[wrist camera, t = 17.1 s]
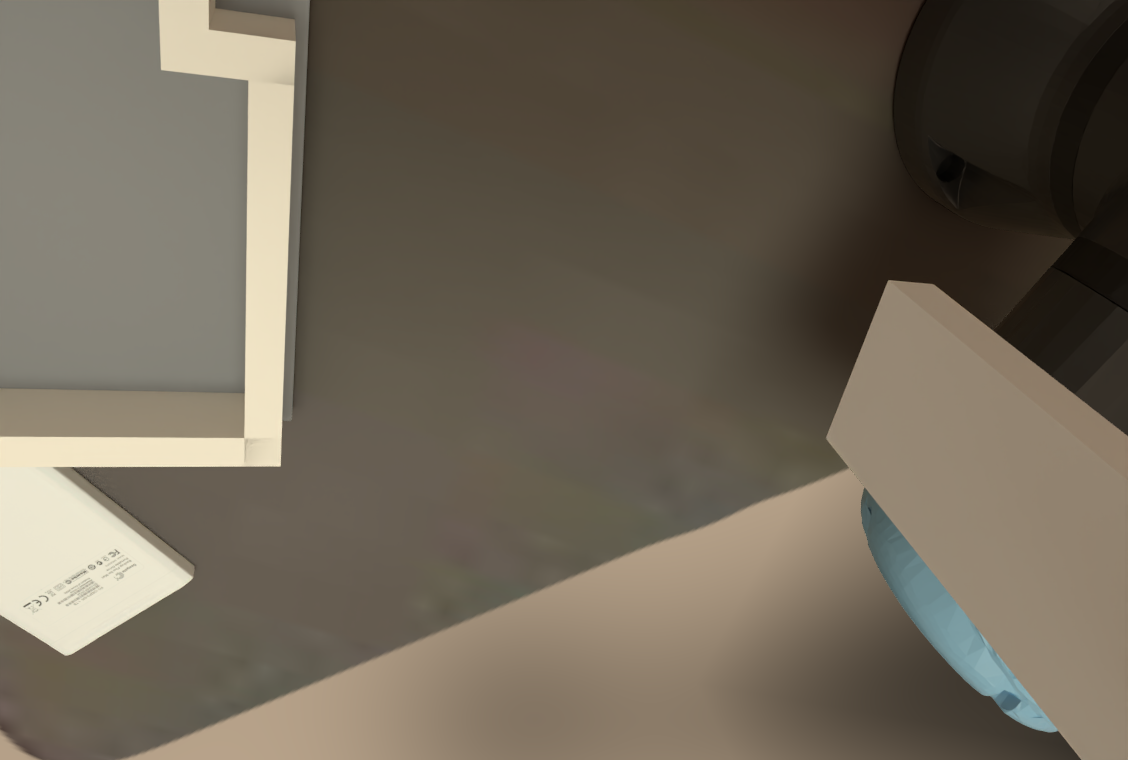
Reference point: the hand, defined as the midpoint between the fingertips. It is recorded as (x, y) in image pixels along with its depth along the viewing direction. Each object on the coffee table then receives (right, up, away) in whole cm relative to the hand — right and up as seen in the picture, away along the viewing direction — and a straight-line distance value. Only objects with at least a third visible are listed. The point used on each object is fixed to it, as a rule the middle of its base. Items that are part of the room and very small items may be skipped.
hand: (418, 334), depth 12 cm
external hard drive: (-24, -8, +33) cm, 41 cm away
